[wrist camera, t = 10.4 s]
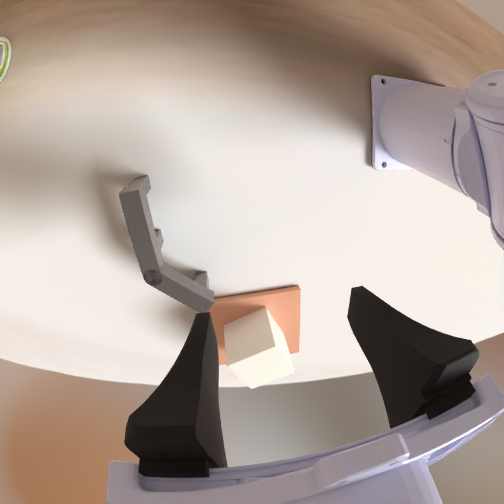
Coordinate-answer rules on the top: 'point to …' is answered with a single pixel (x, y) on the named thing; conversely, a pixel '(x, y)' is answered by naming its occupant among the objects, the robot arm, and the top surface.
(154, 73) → the top surface
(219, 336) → the terracotta tile
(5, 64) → the supplement bottle
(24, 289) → the top surface
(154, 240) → the bent rail
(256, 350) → the cream block
